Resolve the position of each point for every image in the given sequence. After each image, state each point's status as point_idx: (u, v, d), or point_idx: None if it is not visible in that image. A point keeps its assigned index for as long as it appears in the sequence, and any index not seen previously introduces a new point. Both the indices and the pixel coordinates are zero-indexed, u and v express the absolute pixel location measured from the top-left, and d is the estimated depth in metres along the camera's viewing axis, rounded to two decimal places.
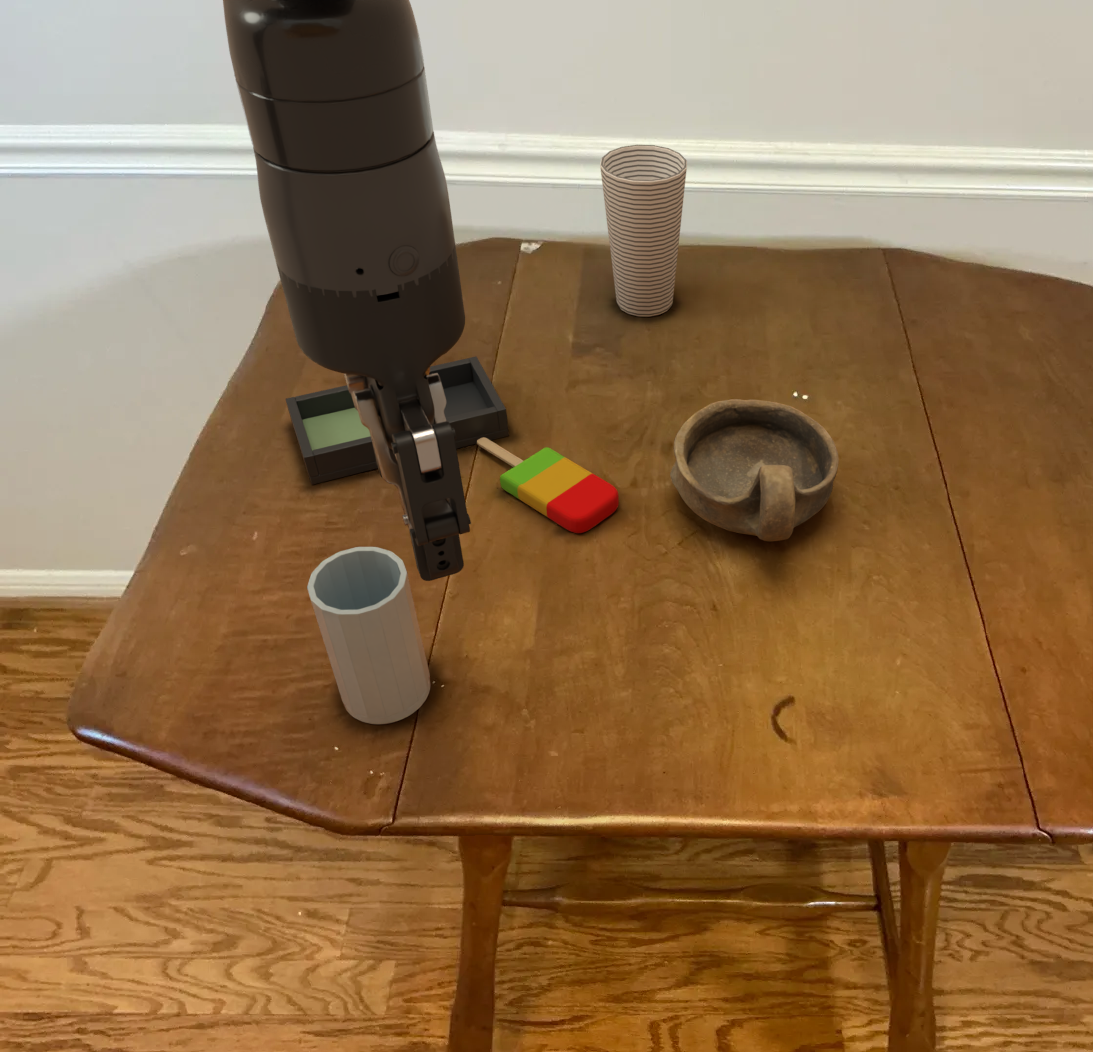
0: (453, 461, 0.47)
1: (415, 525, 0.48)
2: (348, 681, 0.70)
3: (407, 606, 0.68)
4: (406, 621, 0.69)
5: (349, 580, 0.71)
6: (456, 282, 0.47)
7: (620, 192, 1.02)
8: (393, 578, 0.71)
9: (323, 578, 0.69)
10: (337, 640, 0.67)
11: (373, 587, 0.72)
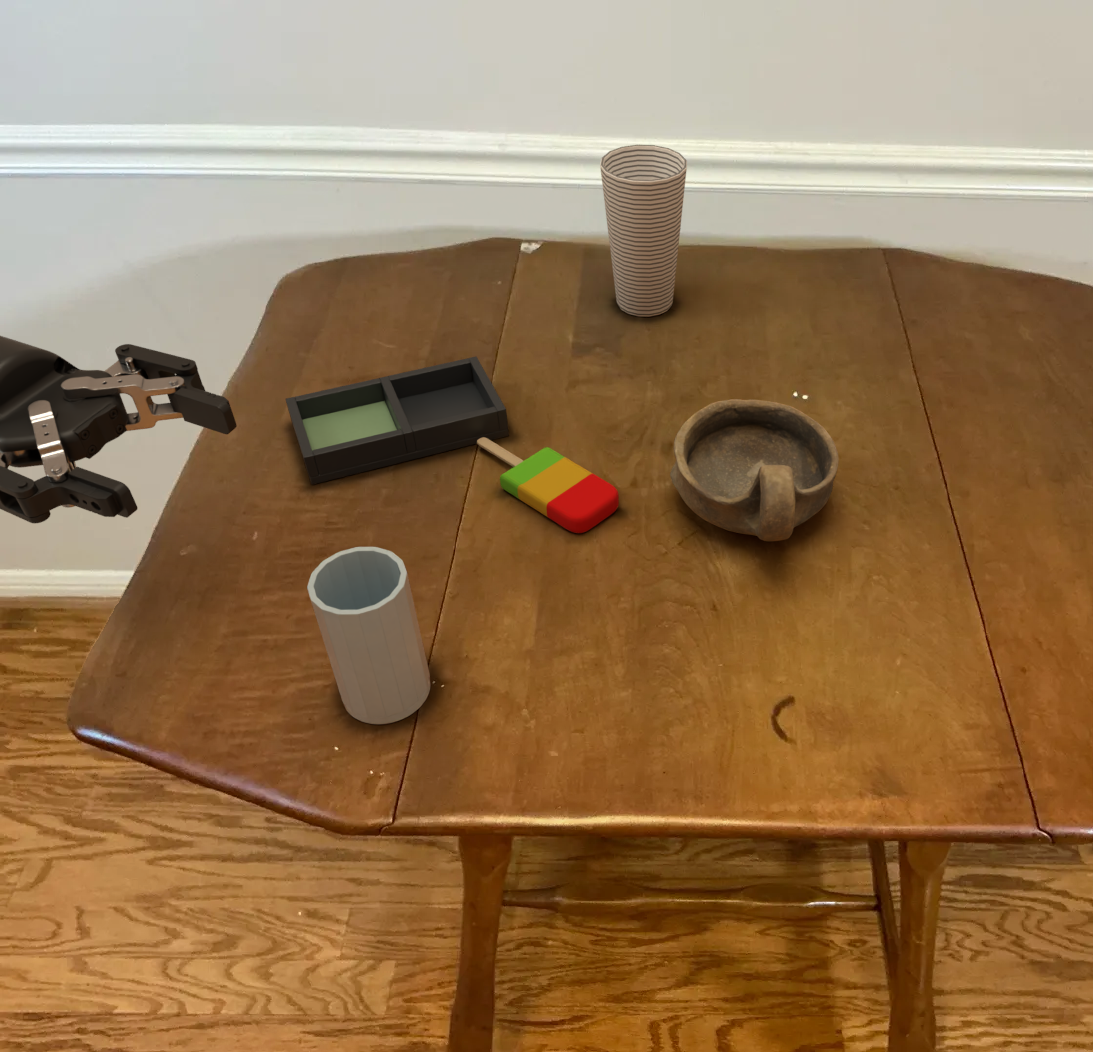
0: None
1: (180, 357, 0.70)
2: (348, 681, 0.70)
3: (407, 606, 0.68)
4: (406, 621, 0.69)
5: (349, 580, 0.71)
6: None
7: (620, 192, 1.02)
8: (393, 578, 0.71)
9: (323, 578, 0.69)
10: (337, 640, 0.67)
11: (373, 587, 0.72)
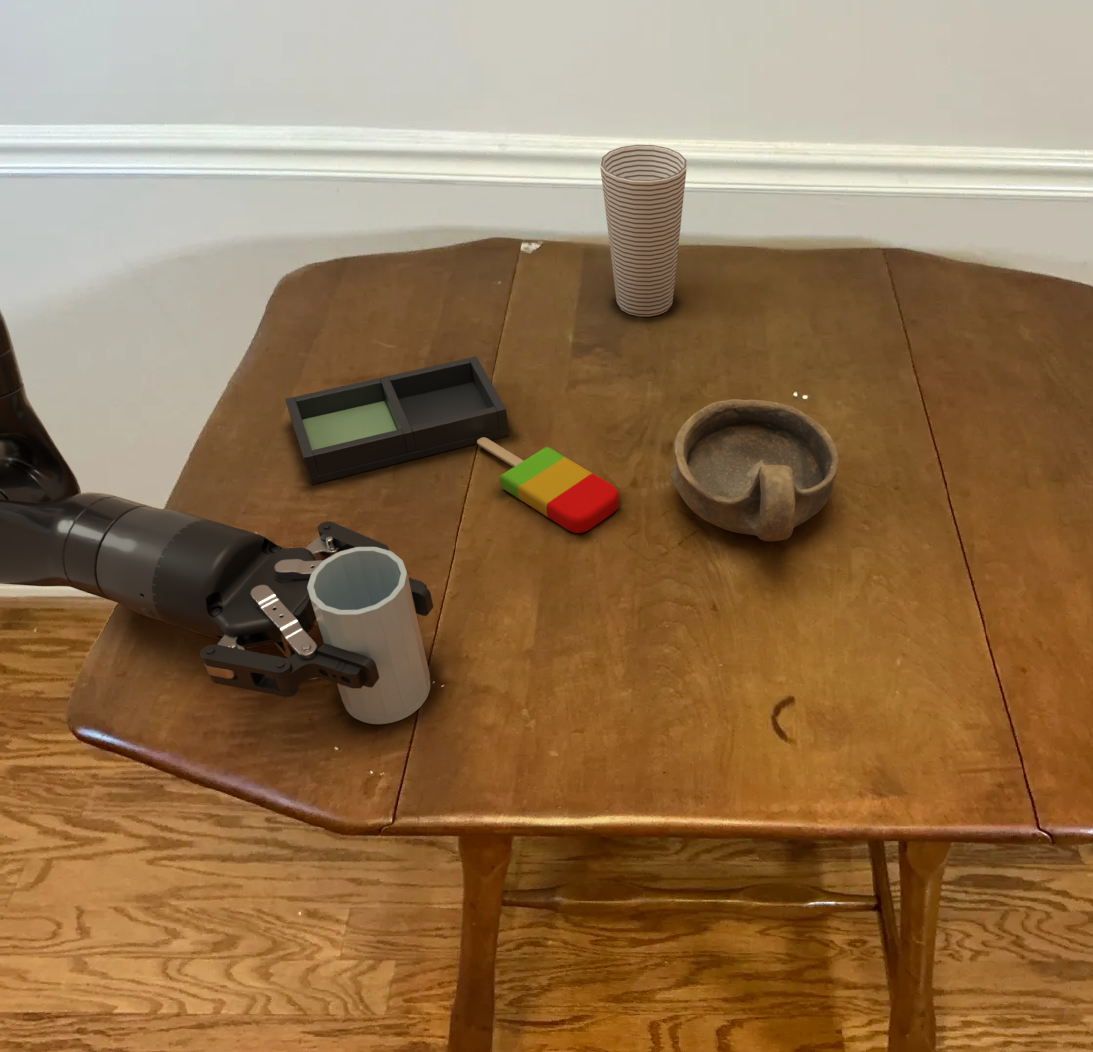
0: None
1: (375, 540, 0.75)
2: None
3: (407, 606, 0.68)
4: (406, 621, 0.69)
5: (349, 580, 0.71)
6: None
7: (620, 192, 1.02)
8: (393, 578, 0.71)
9: (323, 578, 0.69)
10: (337, 640, 0.67)
11: (373, 587, 0.72)
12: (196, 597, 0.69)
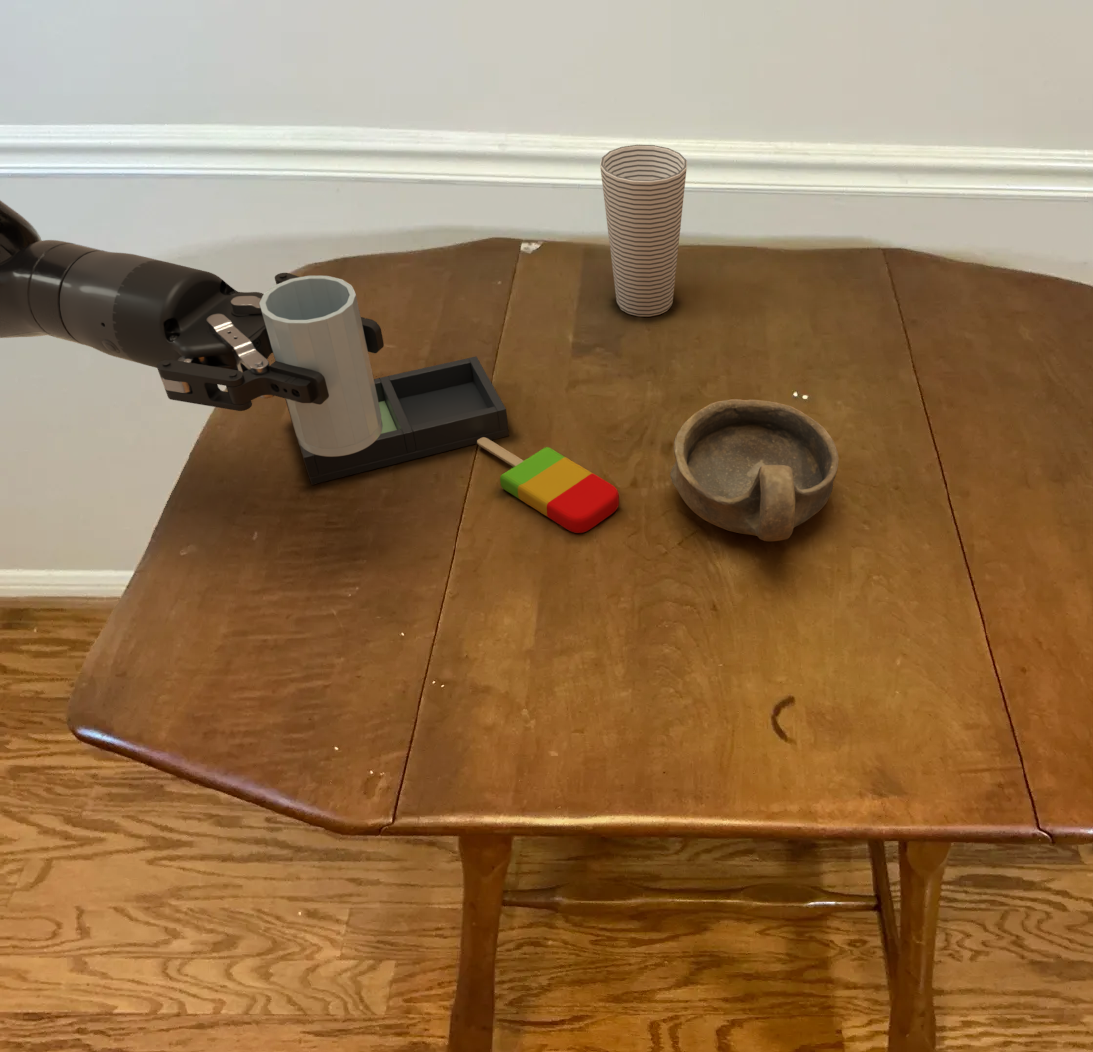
0: None
1: None
2: (300, 405, 0.73)
3: (356, 328, 0.71)
4: (355, 344, 0.72)
5: (302, 310, 0.74)
6: None
7: (620, 192, 1.02)
8: None
9: (276, 301, 0.72)
10: (288, 355, 0.70)
11: None
12: (154, 322, 0.73)
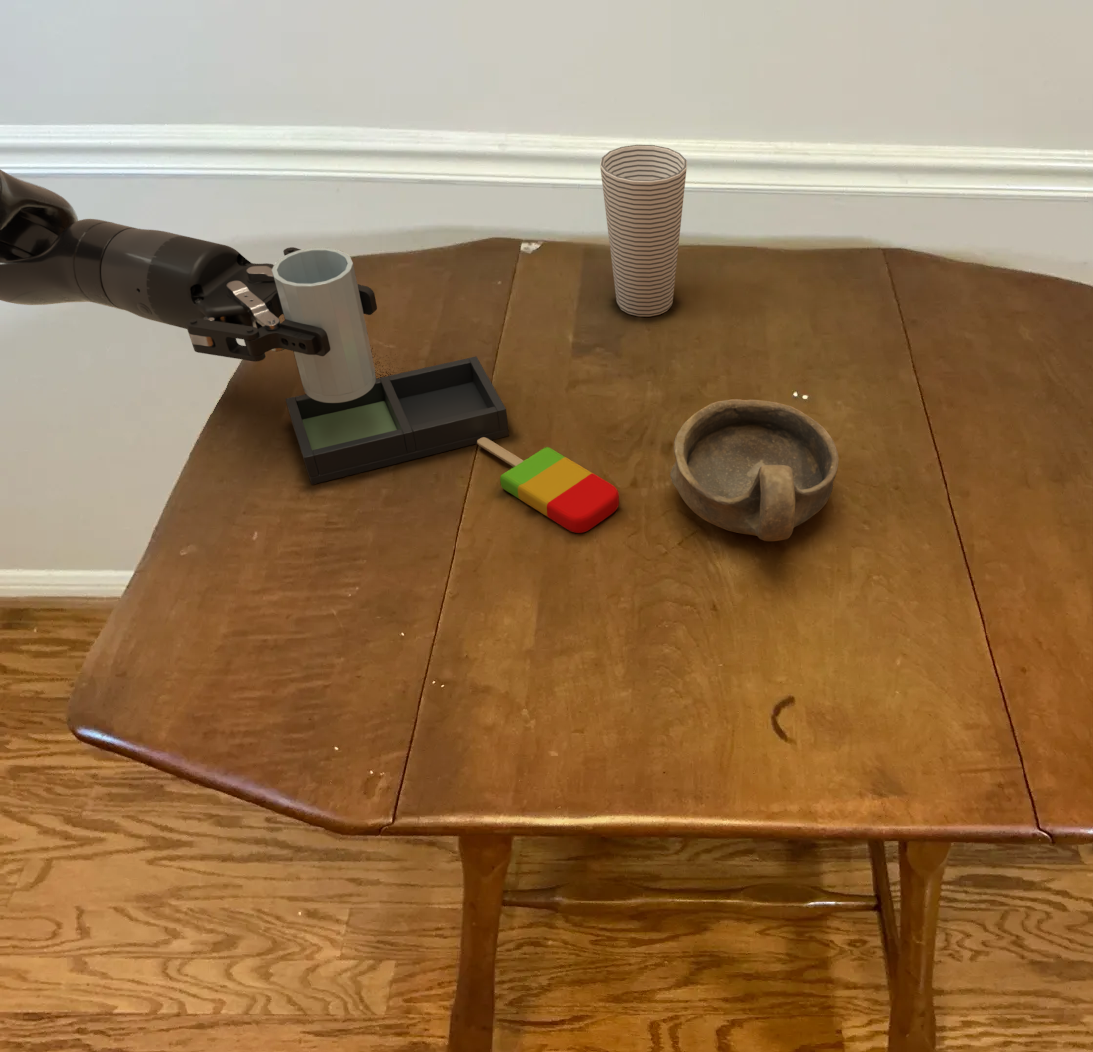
0: None
1: None
2: (306, 358, 0.86)
3: (353, 291, 0.85)
4: (352, 305, 0.85)
5: (307, 278, 0.87)
6: None
7: (620, 192, 1.02)
8: None
9: (285, 269, 0.85)
10: (296, 314, 0.83)
11: None
12: (182, 287, 0.86)
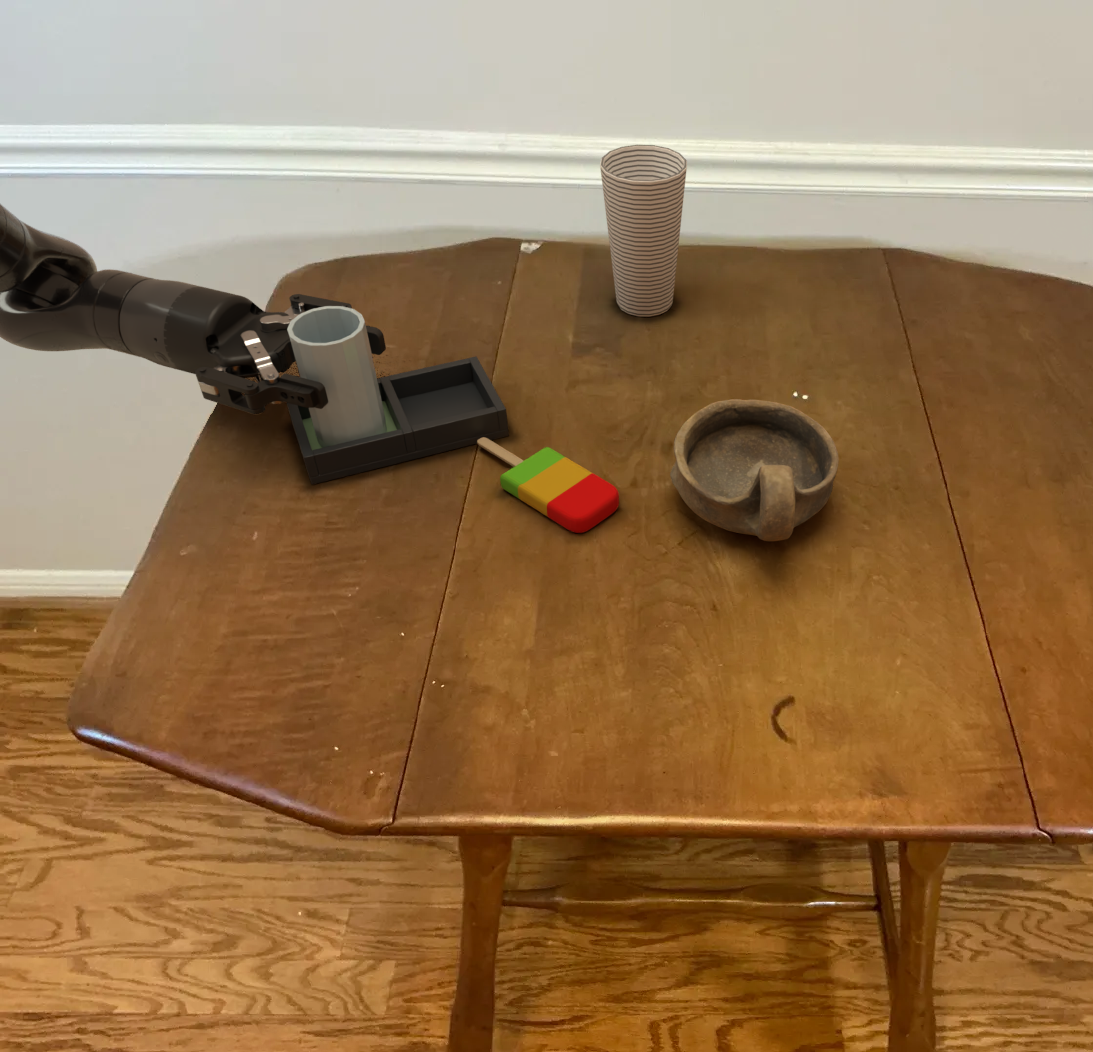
0: None
1: (338, 302, 0.95)
2: (320, 411, 0.90)
3: (365, 348, 0.88)
4: (364, 361, 0.89)
5: (320, 334, 0.90)
6: None
7: (620, 192, 1.02)
8: None
9: (300, 327, 0.88)
10: (310, 371, 0.87)
11: None
12: (198, 337, 0.89)
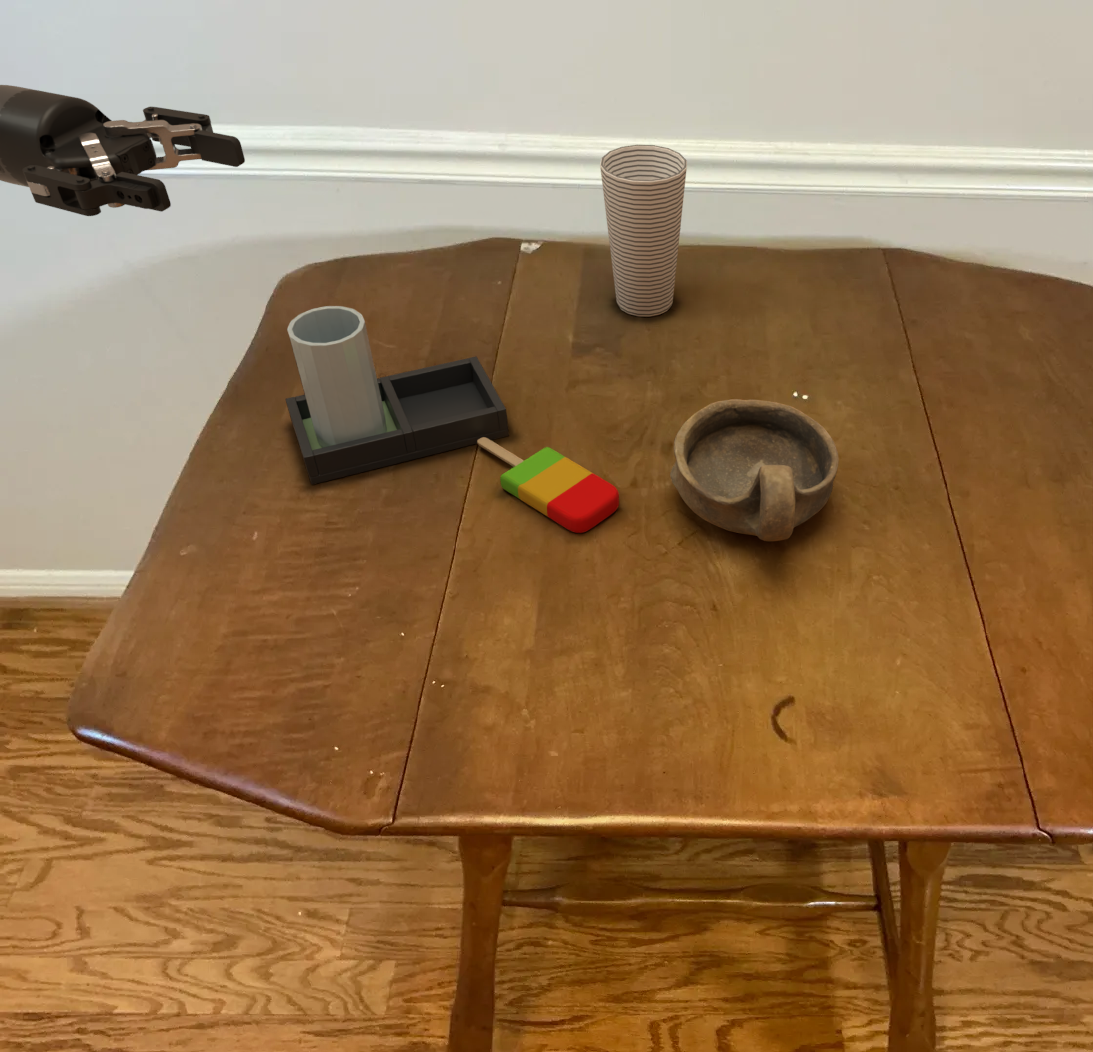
0: None
1: (196, 113, 0.87)
2: (320, 411, 0.90)
3: (365, 348, 0.88)
4: (364, 361, 0.89)
5: (320, 334, 0.90)
6: None
7: (620, 192, 1.02)
8: None
9: (300, 327, 0.88)
10: (310, 371, 0.87)
11: None
12: (31, 138, 0.81)
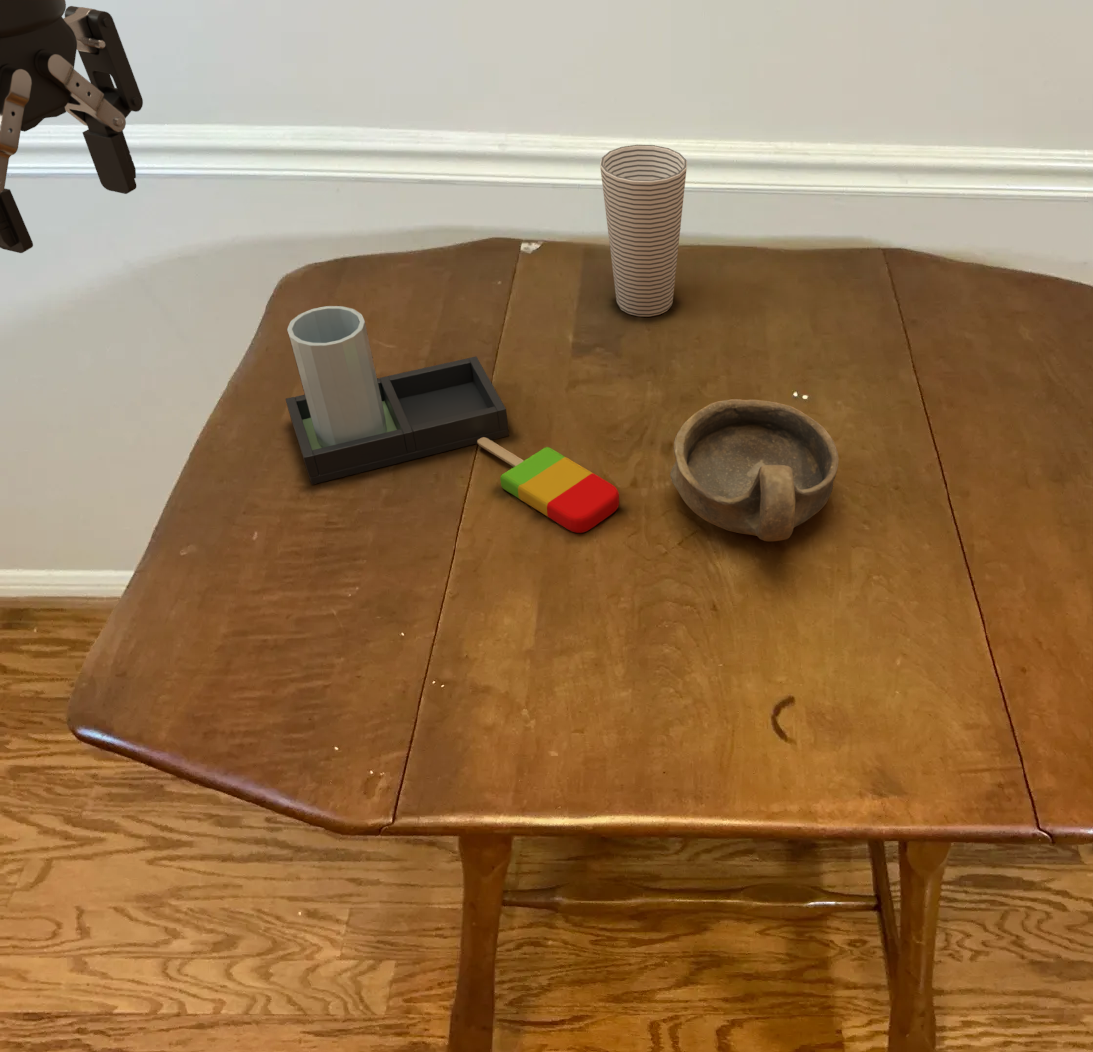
0: None
1: (136, 83, 0.67)
2: (320, 411, 0.90)
3: (365, 348, 0.88)
4: (364, 361, 0.89)
5: (320, 334, 0.90)
6: None
7: (620, 192, 1.02)
8: None
9: (300, 327, 0.88)
10: (310, 371, 0.87)
11: None
12: None
